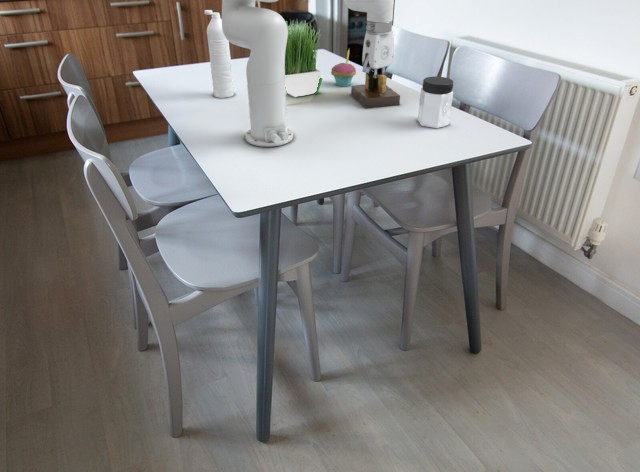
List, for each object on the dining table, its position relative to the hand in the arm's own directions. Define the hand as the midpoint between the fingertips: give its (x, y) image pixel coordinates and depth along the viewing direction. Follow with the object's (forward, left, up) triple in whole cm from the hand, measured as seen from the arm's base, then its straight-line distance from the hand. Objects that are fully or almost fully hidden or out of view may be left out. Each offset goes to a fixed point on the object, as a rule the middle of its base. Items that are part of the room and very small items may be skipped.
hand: (375, 88), depth 158 cm
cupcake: (+19, +1, -4) cm, 19 cm away
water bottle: (+27, +42, -4) cm, 50 cm away
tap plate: (0, 0, -4) cm, 4 cm away
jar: (-25, -4, -4) cm, 26 cm away
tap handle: (0, 0, 0) cm, 0 cm away
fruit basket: (+15, +18, -4) cm, 24 cm away
